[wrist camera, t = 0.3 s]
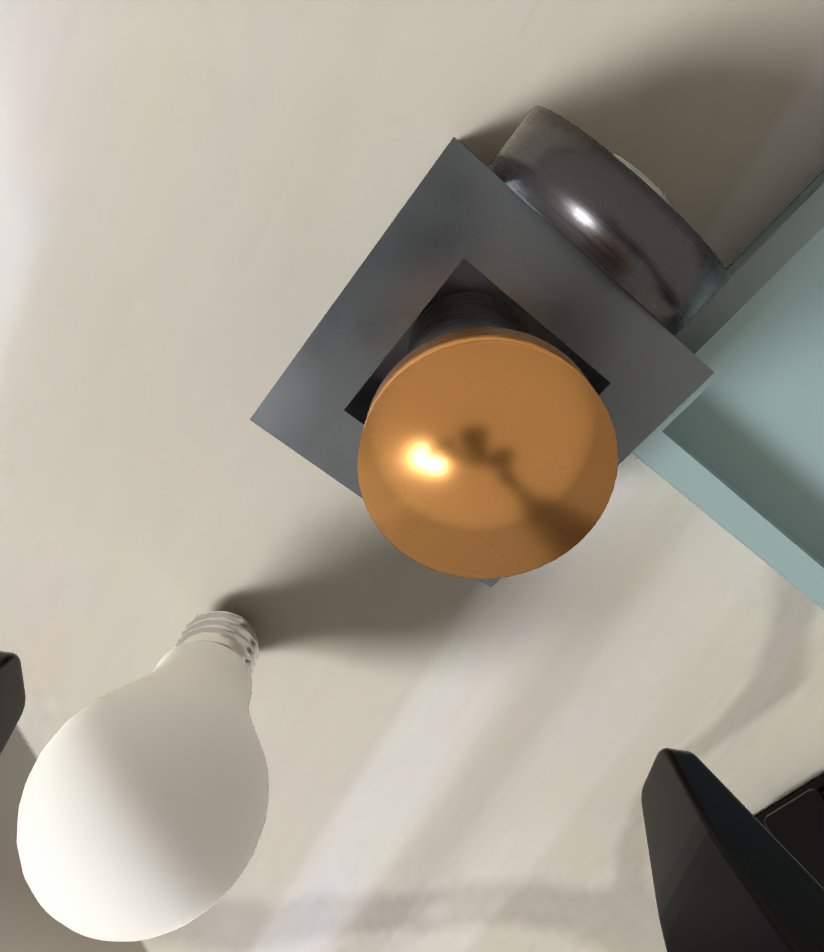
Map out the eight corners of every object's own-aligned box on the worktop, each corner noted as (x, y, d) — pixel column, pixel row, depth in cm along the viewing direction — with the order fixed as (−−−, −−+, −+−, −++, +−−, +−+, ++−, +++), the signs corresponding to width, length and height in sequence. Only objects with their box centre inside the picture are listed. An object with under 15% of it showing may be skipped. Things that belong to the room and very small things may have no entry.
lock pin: (583, 340, 19) (674, 453, 12) (476, 456, 21) (497, 617, 13) (458, 233, 18) (472, 284, 11) (356, 365, 20) (307, 487, 12)
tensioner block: (703, 271, 19) (819, 319, 13) (480, 503, 23) (494, 621, 17) (498, 76, 17) (529, 32, 11) (290, 363, 21) (232, 443, 15)
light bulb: (241, 528, 24) (99, 793, 14) (345, 651, 26) (288, 954, 16) (109, 603, 25) (-103, 887, 15) (217, 712, 28) (93, 1020, 18)
